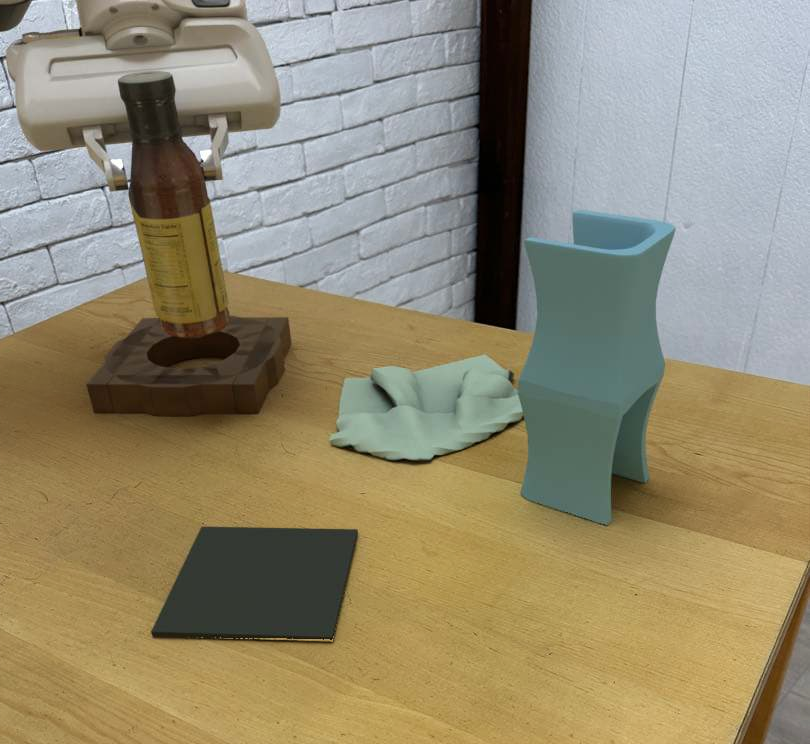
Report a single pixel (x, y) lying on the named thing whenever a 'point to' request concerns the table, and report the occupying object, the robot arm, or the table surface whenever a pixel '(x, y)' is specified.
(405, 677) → the table surface
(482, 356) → the cloth
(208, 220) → the sauce bottle
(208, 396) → the bottle rack
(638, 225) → the teal waisted open shell
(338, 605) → the mat
